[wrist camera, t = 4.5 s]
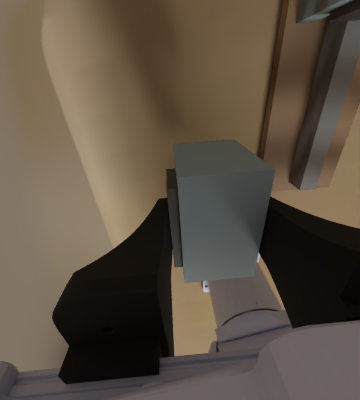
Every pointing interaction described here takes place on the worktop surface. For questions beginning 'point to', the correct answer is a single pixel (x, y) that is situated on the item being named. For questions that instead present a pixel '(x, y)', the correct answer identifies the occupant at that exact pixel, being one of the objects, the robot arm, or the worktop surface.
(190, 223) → the block
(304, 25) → the rail base
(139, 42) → the worktop surface
